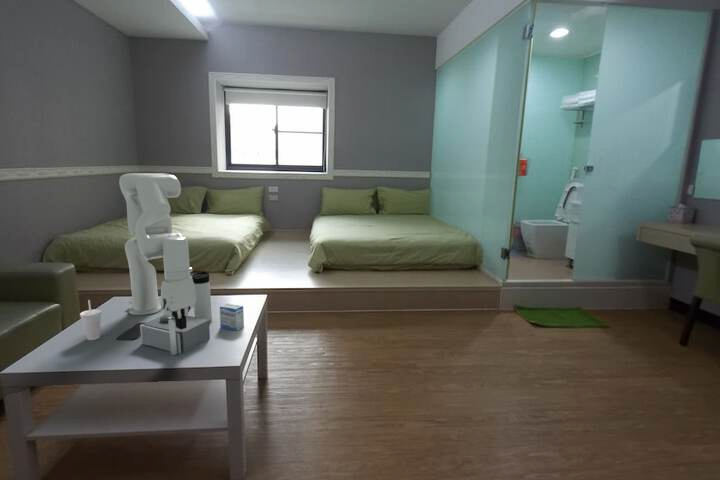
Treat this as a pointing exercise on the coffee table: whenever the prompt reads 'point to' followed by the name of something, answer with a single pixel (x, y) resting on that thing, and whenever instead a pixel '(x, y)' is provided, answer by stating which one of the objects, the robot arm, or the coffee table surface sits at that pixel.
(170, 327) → the side door
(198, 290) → the travel mug
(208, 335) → the cabinet body
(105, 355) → the coffee table surface
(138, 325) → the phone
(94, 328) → the smoothie
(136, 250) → the robot arm
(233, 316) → the medicine box
